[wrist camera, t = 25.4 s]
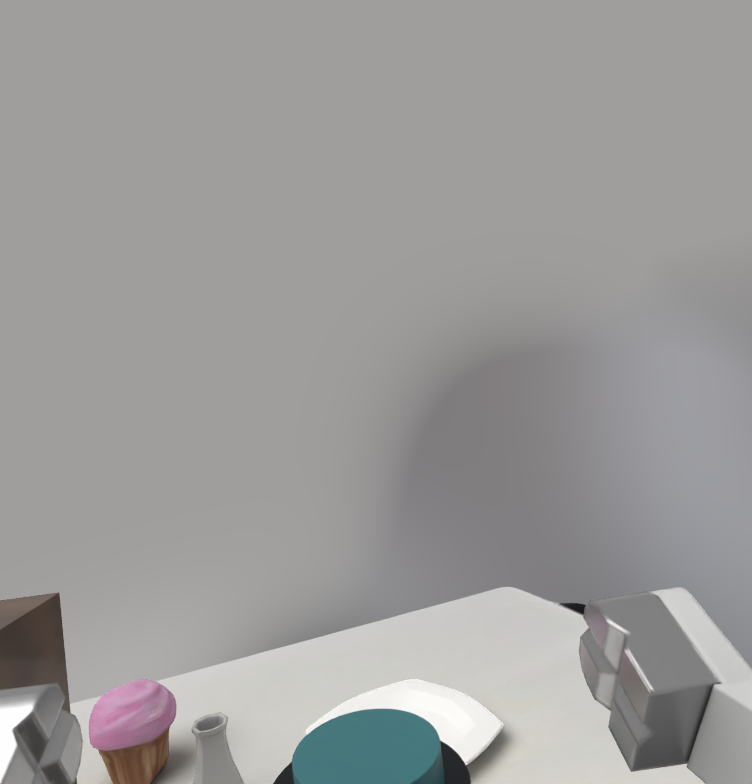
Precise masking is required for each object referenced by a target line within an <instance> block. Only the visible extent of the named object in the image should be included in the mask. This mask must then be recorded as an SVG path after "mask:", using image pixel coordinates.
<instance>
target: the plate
mask: <svg viewBox="0 0 752 784" xmlns="http://www.w3.org/2000/svg"><path fill="white" fill-rule="evenodd" d="M367 709H397V710H402V711H406V712H410V713H413V714H416V715H418V716H420V717H422V718H424V719H425V720H427V721H428V722H429V723H430V724H431V725H432V726H433V727H434V728H435V729H436V731H437V733H438V735H439V738H440V740H441V741H442V742H444V743H446V744H447V745H448V746H450V747H451V748H453V749H454V750H455V751H456V752H457V753H458V754H459V756H460V757H461V758H462V760H463V761H464V763H465V765H468V764H469V763H470V762H472V761H473V760H475V759H476V758H477V757H478V756H479V755H480V754H481V753H482V752H483V751H484V750H485V749H486V748H487V747H488V746H489V745H490V743H491V742H492V741H493V740H494V739H495V737H496V736H497V735H498V734H499V732H500V731H501V730H502V728H503V727H504V724H503V723H502V722H501V721H500V720H499V719H498V718H497V717H495V716H494V715H493V714H492V713H491V712H490V711H489V710H487V709H486V708H485V707H484V706H483V705H481V704H480V703H478V702H477V701H476V700H474V699H473V698H471V697H469V696H468V695H466V694H464V693H462V692H460V691H457V690H454V689H452V688H448V687H445V686H442V685H438V684H434V683H430V682H426V681H422V680H417V679H408V680H404V681H400V682H397V683H393V684H390V685H386V686H383V687H379V688H376V689H374V690H371V691H368V692H365V693H363V694H360V695H358V696H355V697H353V698H351V699H349V700H347V701H346V702H344V703H342V704H340V705H339V706H337V707H336V708H334V709H332V710H331V711H329V712H328V713H327V714H325V715H324V716H323V717H321V718H320V719H318V720H317V721H316V722H314V723H313V724H312V725H311V726H309V727H308V728H307V729H306V730H305V731H306V734H307V735H308V734H309V733H310V732H311V731H312V730H314V729H315V728H316V727H318V726H320V725H321V724H323V723H325V722H327V721H329V720H331V719H333V718H336V717H338V716H341V715H344V714H347V713H351V712H355V711H360V710H367Z"/></svg>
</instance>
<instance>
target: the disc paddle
mask: <svg viewBox="0 0 752 784" xmlns="http://www.w3.org/2000/svg"><path fill="white" fill-rule="evenodd" d="M292 771H293V781H294V784H445V776H444V768H443V760H442V751H441V743H440V738H439V735H438V733H437V731H436V729H435V728H434V727H433V726H432V725H431V724H430V723H429V722H428V721H427V720H425V719H424V718H422V717H420V716H418V715H416V714H413V713H410V712H406V711H402V710H397V709H367V710H360V711H355V712H351V713H347V714H344V715H341V716H338V717H336V718H333V719H331V720H329V721H327V722H325V723H323V724H321V725H320V726H318V727H316V728H315V729H314V730H312V731H311V732H310V733H309V734H308V735H306V736H305V737H304V738H303V740H302V741H301V742H300V743H299V745H298V746H297V748H296V750H295V752H294V755H293V759H292Z"/></svg>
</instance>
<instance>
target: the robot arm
mask: <svg viewBox="0 0 752 784" xmlns="http://www.w3.org/2000/svg"><path fill="white" fill-rule="evenodd" d="M583 618H584V619H585V621H586V623H587V625H588V627H589V628H588V630H587V631H586V632H585V633H584V634H583V635H582V636H581V637H580V647H579V655H580V661H581V667H582V671H583V674H584V677H585V679H586V682H587V685H588V687H589V689H590V691H591V693H592V695H593V697H594V699H595V700H597V701H598V702H599V703H601V704H602V705H603V706H605V707H606V708H607V709H609V710H610V711H611V714H610V720H609V726H608V727H609V729H610V731H611V733H612V735H613V737H614V739H615V741H616V743H617V745H618V747H619V749H620V751H621V753H622V755H623V757H624V759H625V761H626V763H627V765H628V767H629V769H630V771H631V772H632V771H639V770H646V769H653V768H660V767H667V766H674V765H680V764H687V763H688V764H687V768H688V769H689V770H691V771H692V772H693V773H694V774H695V775H696V776H698V777H699V778H700V779H701V780H702V781H703V782H704V783H706V784H752V669H751V667H750V666H749V665H748V664H747V663H746V661H745V660H744V659H743V657H742V656H741V655H740V654H739V653H738V651H737V650H736V649H735V648H734V646H733V645H732V644H731V643H730V642H729V640H728V639H727V638H726V637H725V636H724V634H723V633H722V632H721V630H720V629H719V628H718V627H717V626H716V624H715V623H714V622H713V621H712V620H711V618H710V617H709V616H708V615H707V613H706V612H705V611H704V610H703V608H702V607H701V606H700V605H699V603H698V602H697V601H696V600H695V599H694V597H693V596H692V595H691V594H690V592H688V591H687V590H685V589H684V588H682V587H678V588H670V589H664V590H658V591H651V592H640V593H634V594H628V595H622V596H616V597H610V598H604V599H598V600H592V601H589V602H588V604H587V605H586V606H585V611H584V617H583ZM65 697H66V696H65V695H64V693H63V691H62V690H61V688H60V686H59V685H58V683H51V684H43V685H35V686H27V687H19V688H11V689H3V690H0V784H74V782H75V779H76V776H77V773H78V769H79V766H80V762H81V752H82V742H83V740H82V734H81V728H80V725H79V722H78V720H77V718H76V716H75V715H73V714H71V713H69V712H67V711H65V710H63V709H61V708H62V705H63V702H64V700H65Z"/></svg>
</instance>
